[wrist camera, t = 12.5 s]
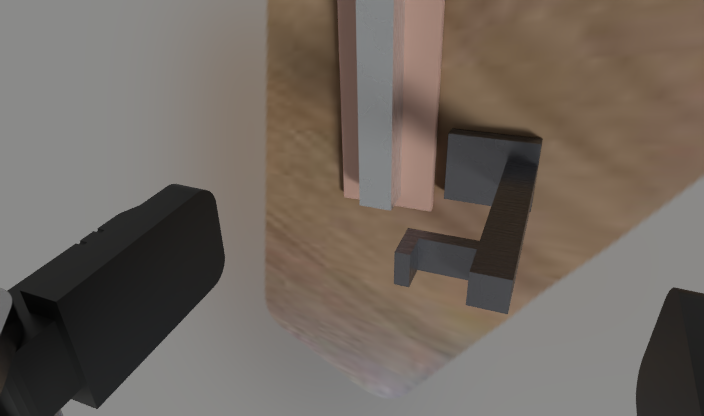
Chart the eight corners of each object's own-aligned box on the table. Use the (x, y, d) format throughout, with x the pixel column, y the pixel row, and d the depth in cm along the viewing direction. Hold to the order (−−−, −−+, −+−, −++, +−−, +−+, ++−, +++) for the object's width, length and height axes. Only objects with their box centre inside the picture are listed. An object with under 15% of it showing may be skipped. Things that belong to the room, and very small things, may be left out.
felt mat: (334, -216, 30) (329, -218, 30) (458, -229, 28) (456, -231, 27) (346, 193, 43) (344, 196, 42) (432, 207, 41) (430, 211, 40)
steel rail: (367, -198, 29) (351, -204, 28) (409, -202, 29) (396, -209, 27) (370, 190, 41) (359, 205, 39) (400, 195, 40) (391, 210, 39)
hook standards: (475, -195, 28) (394, -255, 17) (598, -205, 26) (600, -280, 15) (447, 192, 40) (387, 310, 28) (531, 205, 38) (504, 337, 26)
